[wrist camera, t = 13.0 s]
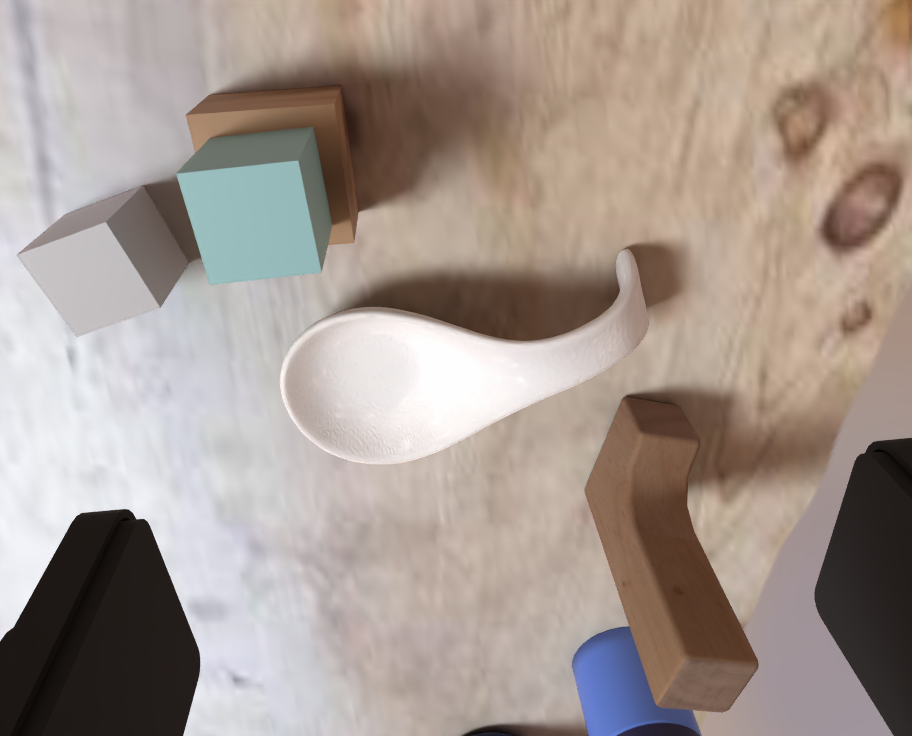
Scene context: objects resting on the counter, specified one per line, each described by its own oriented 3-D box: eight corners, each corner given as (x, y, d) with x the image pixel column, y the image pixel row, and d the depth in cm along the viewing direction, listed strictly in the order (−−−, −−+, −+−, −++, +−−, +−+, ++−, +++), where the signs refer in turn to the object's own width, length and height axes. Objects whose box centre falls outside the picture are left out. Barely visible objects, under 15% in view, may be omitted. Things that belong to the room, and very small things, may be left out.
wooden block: (621, 393, 49) (722, 600, 34) (680, 403, 50) (804, 609, 35) (581, 489, 54) (654, 710, 38) (636, 497, 55) (728, 716, 39)
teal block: (210, 137, 34) (176, 173, 29) (313, 126, 34) (298, 160, 29) (236, 236, 36) (209, 285, 31) (332, 225, 36) (321, 272, 31)
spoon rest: (334, 453, 51) (325, 524, 45) (254, 320, 45) (231, 381, 39) (653, 345, 48) (690, 405, 42) (613, 186, 42) (650, 230, 36)
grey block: (65, 214, 40) (16, 255, 35) (143, 184, 39) (105, 222, 34) (115, 288, 43) (76, 337, 38) (189, 262, 42) (160, 307, 37)
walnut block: (209, 94, 37) (185, 115, 33) (341, 84, 38) (334, 104, 33) (238, 220, 41) (220, 253, 37) (358, 211, 41) (354, 242, 37)
